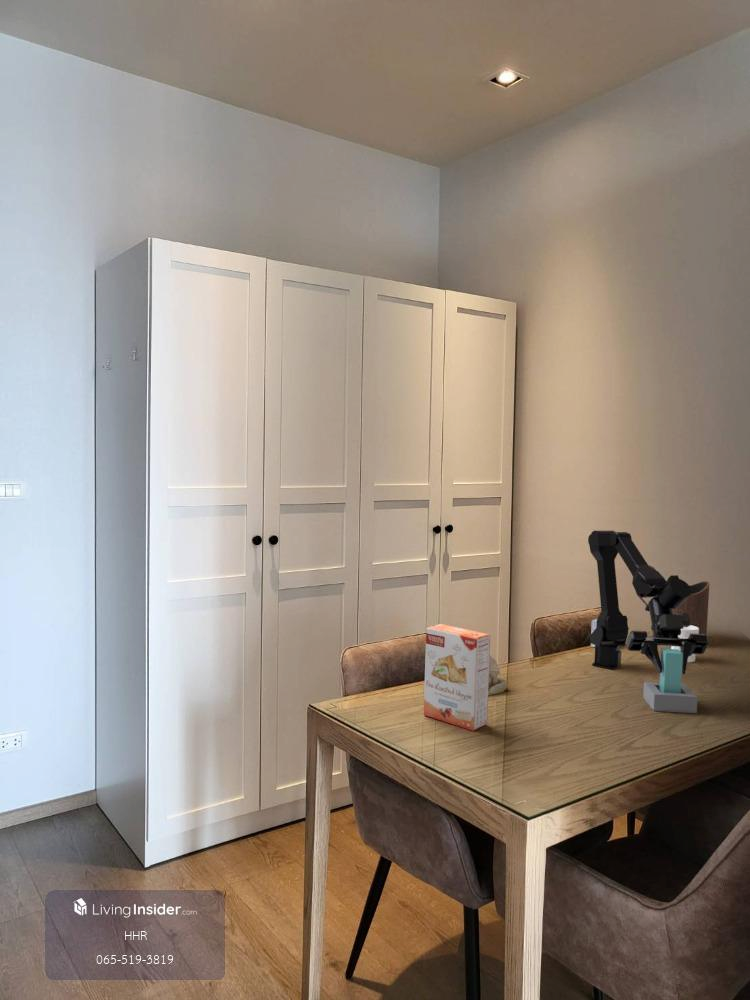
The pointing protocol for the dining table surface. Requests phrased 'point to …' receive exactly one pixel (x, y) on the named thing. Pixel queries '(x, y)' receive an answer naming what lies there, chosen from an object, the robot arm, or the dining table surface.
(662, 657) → the plug
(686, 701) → the socket
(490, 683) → the ceramic model
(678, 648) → the white cup
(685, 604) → the rusty brown pitcher
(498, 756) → the dining table surface
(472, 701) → the cracker box
